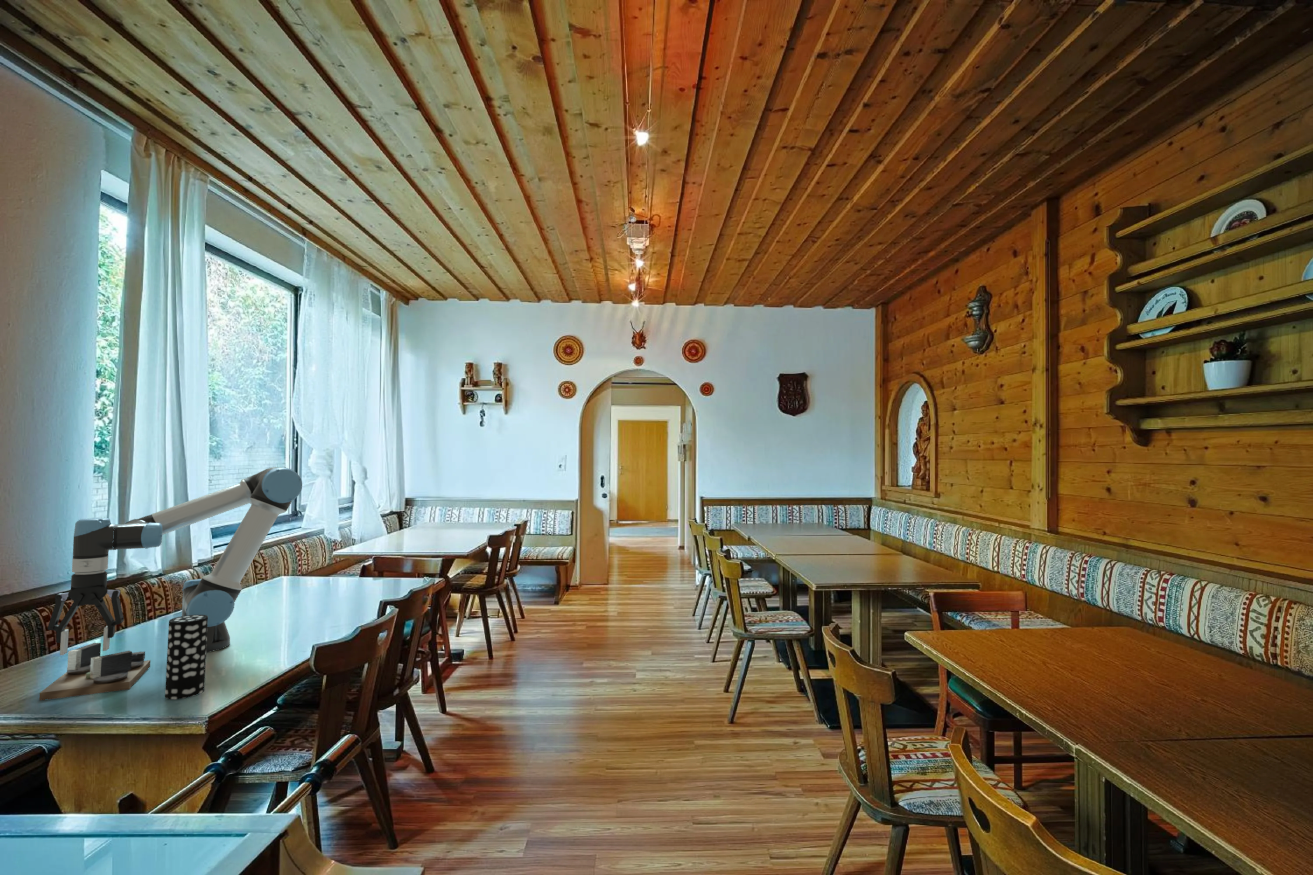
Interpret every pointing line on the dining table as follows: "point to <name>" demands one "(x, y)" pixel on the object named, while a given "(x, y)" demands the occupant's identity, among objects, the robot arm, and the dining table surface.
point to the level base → (89, 684)
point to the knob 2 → (110, 667)
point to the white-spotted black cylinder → (186, 656)
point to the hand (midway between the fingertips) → (85, 651)
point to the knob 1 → (82, 658)
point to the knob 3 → (137, 659)
